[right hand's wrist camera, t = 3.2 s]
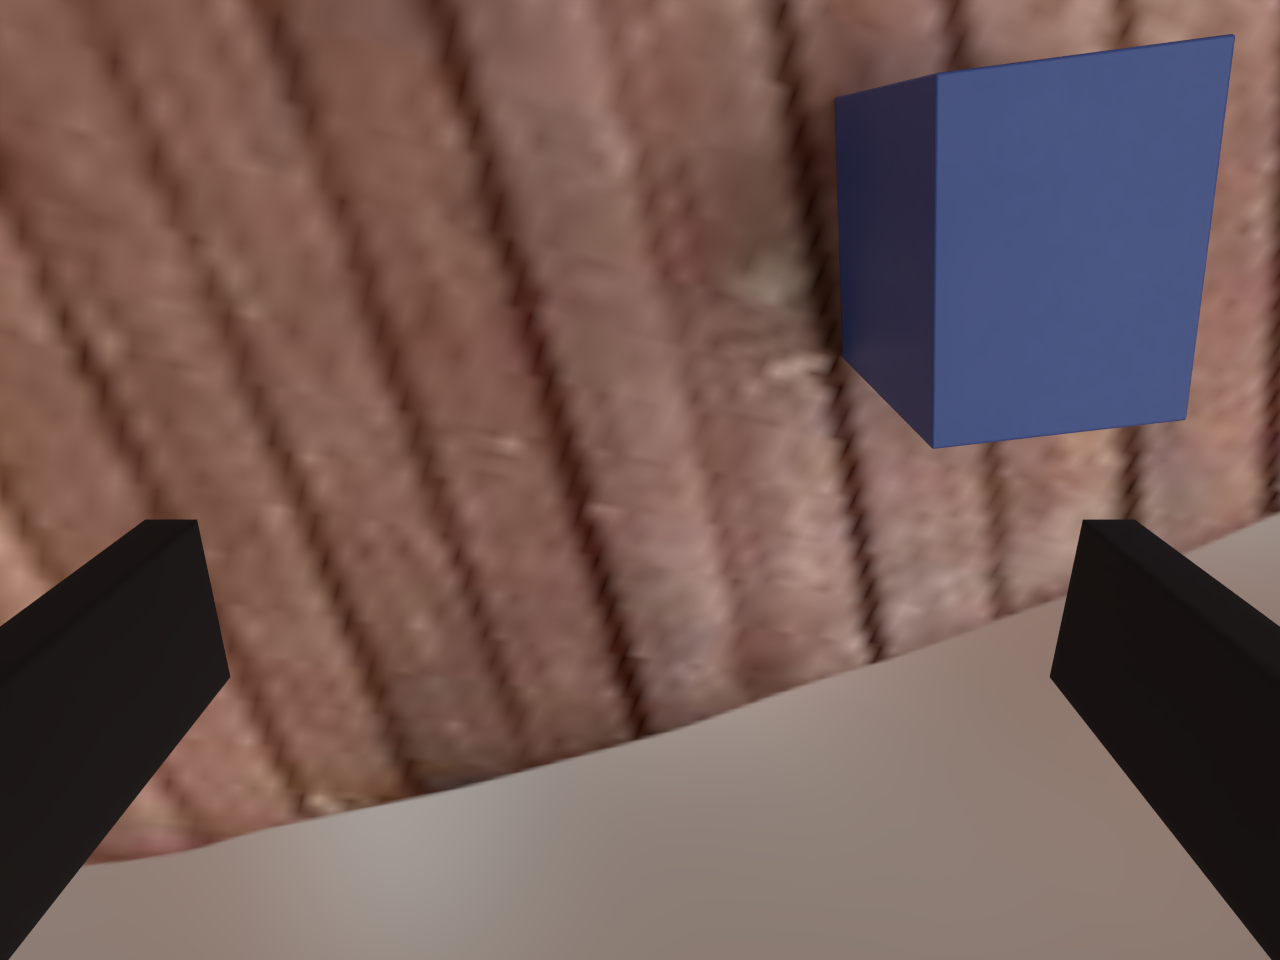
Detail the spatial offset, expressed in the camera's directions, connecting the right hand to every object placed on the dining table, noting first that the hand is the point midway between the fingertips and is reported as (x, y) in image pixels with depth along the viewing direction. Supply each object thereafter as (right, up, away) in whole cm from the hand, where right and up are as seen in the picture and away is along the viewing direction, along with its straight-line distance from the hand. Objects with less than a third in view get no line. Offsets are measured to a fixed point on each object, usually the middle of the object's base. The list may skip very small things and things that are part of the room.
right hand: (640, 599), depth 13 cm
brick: (+10, +11, +17) cm, 23 cm away
